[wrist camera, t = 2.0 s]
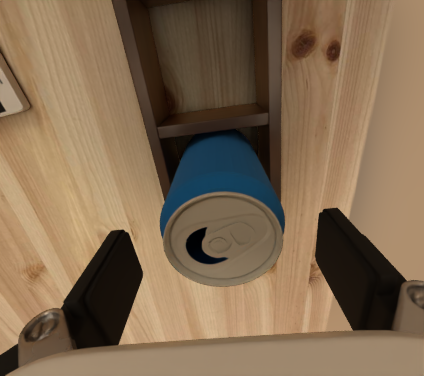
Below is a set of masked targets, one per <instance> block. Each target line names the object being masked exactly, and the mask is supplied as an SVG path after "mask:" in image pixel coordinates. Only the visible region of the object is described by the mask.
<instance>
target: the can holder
mask: <svg viewBox="0 0 424 376" xmlns="http://www.w3.org/2000/svg"><path fill="white" fill-rule="evenodd" d="M184 1H190V0H112V4H113V7H114V11H115V15H116V19H117V23H118V26H119V30H120V34H121V38H122V41H123V45H124V49H125V53H126V57H127V60H128V64H129V68H130V72H131V76H132V79H133V83H134V87H135V91H136V94H137V98H138V102H139V106H140V110H141V113H142V117H143V121H144V125H145V128H146V132H147V136H148V140H149V144H150V147H151V151H152V155H153V159H154V163H155V166H156V170H157V174H158V178H159V181H160V185H161V189H162V193H163V197H164V200H166V197H167V195H168V192H169V190H170V187H171V184H172V182H173V179H174V177H175V174H176V171H177V169H178V166H179V164H180V161H179V156H178V151H177V147H176V142H175V137H178V136H186V135H193V134H201V133H209V132H216V131H224V130H231V129H239V128H247V127H254V126H257V130H258V154H259V161H260V163H261V165H262V167H263V169H264V171H265V173H266V175H267V177H268V179H269V181H270V183H271V185H272V187H273V189H274V191H275V193H276V195H277V197H278V199H279V201H280V203H281V70H282V0H252V9H253V33H254V57H255V81H256V103H252V104H245V105H238V106H230V107H223V108H216V109H209V110H201V111H194V112H187V113H180V114H172V115H170V113H169V108H168V104H167V99H166V94H165V89H164V85H163V80H162V75H161V70H160V66H159V61H158V56H157V51H156V47H155V42H154V37H153V32H152V28H151V23H150V18H149V13H148V8H150V7H155V6H161V5H167V4H173V3H179V2H184Z"/></svg>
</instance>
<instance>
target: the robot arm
mask: <svg viewBox="0 0 424 376" xmlns="http://www.w3.org/2000/svg"><path fill="white" fill-rule="evenodd" d="M315 258H316V262H317V264H318V266H319V268H320V270H321V272H322V274H323V275H324V277H325V279H326V281H327V283H328V285H329V287H330V288H331V290H332V292H333V294H334V296H335V298H336V300H337V301H338V303H339V305H340V307H341V309H342V311H343V313H344V314H345V316H346V318H347V320H348V322H349V323H350V326H351V328H352V329H353V331H333V332H311V333H294V334H277V335H260V336H244V337H229V338H213V339H198V340H183V341H169V342H154V343H140V344H126V345H118V344H119V342H120V339H121V336H122V333H123V330H124V328H125V325H126V322H127V319H128V317H129V314H130V311H131V308H132V305H133V303H134V300H135V297H136V294H137V292H138V289H139V286H140V283H141V281H142V277H143V271H142V268H141V265H140V263H139V260H138V257H137V254H136V252H135V249H134V246H133V244H132V241H131V238H130V235H129V233H128V232H125V231H124V230H114V231H111V232H110V233H109V234H108V236H107V237H106V239H105V240H104V242H103V243H102V245H101V246H100V248H99V249H98V251H97V252H96V254H95V255H94V257H93V258H92V260H91V261H90V263H89V264H88V266H87V267H86V269H85V270H84V272H83V273H82V275H81V276H80V278H79V279H78V281H77V282H76V284H75V285H74V287H73V288H72V290H71V291H70V293H69V294H68V296H67V297H66V299H65V300H64V302H63V303H64V304H63V306H62V307H61V309H59V308H52V309H49V310H46V311H44V312H42V313H40V314H39V315H37V316H36V317H34V318H33V319H32V320H31V321H30V322H28V323H27V325H26V326H25V327H24V328H23V330H22V331H21V333H20V335H19V340H18V344H17V345H15V346H13V347H12V348H10V349H9V350H7V351H6V352H4V353H3V354H1V355H0V376H424V281H418V280H411V281H407V280H406V279H405V278H404V277H403V276H402V275H401V274H400V273H399V272H398V271H397V270H396V268H394V266H393V265H392V264H391V263H390V262H389V261H388V260H387V259H386V258H385V257H384V256H383V254H382V253H381V252H380V251H379V250H378V249H377V248H376V247H375V246H374V245H373V244H372V243H371V242H370V240H369V239H368V238H367V237H366V236H364V235H363V234H361V233H360V232H359V231H358V229H356V227H355V226H354V225H353V224H352V223H351V222H350V221H349V220H348V219H347V217H346V216H345V215H344V214H343V213H342V212H341V211H340V210H339V209H338V208H329V209H324V210H323V212H320V213H319V219H318V230H317V241H316V252H315Z"/></svg>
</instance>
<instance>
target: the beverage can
mask: <svg viewBox="0 0 424 376" xmlns="http://www.w3.org/2000/svg"><path fill="white" fill-rule="evenodd" d="M284 228H285V216H284V212H283V208H282V205H281V203H280V201H279V199H278V197H277V195H276V193H275V191H274V189H273V187H272V185H271V183H270V181H269V179H268V177H267V175H266V173H265V171H264V169H263V167H262V165H261V163H260V161H259V159H258V157H257V155H256V153H255V151H254V149H253V147H252V145H251V143H250V141H249V140H248V139H247V137H246V136H245V135H244V134H242V133H241V132H240V131H238V130H236V129H231V130H224V131H216V132H209V133H201V134H195V135H194V136H193V137H192V138H191V139H190V141H189V142H188V144H187V146H186V148H185V151H184V153H183V156H182V158H181V161H180V164H179V166H178V169H177V171H176V174H175V177H174V179H173V182H172V184H171V187H170V190H169V192H168V195H167V197H166V200H165V203H164V205H163V208H162V211H161V216H160V231H161V236H162V238H163V246H164V251H165V254H166V256H167V258H168V260H169V262H170V263H171V265H172V266H173V267H174V268H175V269H176V270H177V271H178V272H179V273H181V274H182V275H183V276H185V277H186V278H188V279H190V280H192V281H195V282H197V283H200V284H204V285H208V286H216V287H228V286H236V285H241V284H244V283H247V282H250V281H252V280H254V279H256V278H258V277H260V276H261V275H263V274H264V273H266V272H267V271H268V270H269V269H270V268H271V267H272V266H273V265H274V264H275V262H276V261H277V259H278V257H279V255H280V253H281V250H282V246H283V234H284Z"/></svg>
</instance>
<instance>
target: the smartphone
mask: <svg viewBox="0 0 424 376" xmlns="http://www.w3.org/2000/svg"><path fill="white" fill-rule="evenodd" d="M29 108H30V105H29V103H28V101H27V99H26V98H25V96H24V94H23V92H22V90H21V89H20V87H19V85H18V83H17V82H16V80H15V78H14V76H13V74H12V73H11V71H10V69H9V67H8V66H7V64H6V62H5V60H4V59H3V57H2V55H1V53H0V117H3V116H7V115H10V114H14V113H18V112H22V111H25V110H28V109H29Z"/></svg>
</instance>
